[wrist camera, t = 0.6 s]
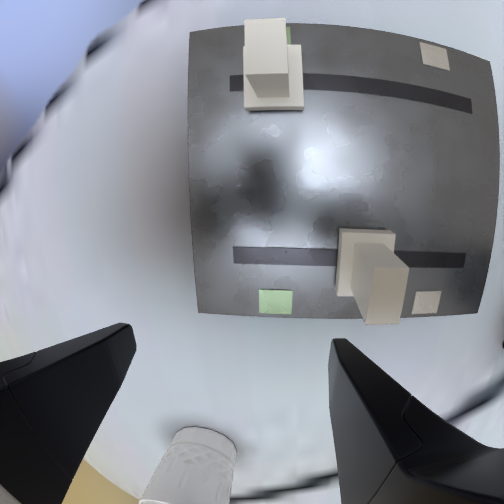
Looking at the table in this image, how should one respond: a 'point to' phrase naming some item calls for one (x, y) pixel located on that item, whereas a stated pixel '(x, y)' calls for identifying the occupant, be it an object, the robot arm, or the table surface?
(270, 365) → the table surface
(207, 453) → the white cup
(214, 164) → the board
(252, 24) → the block
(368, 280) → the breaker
